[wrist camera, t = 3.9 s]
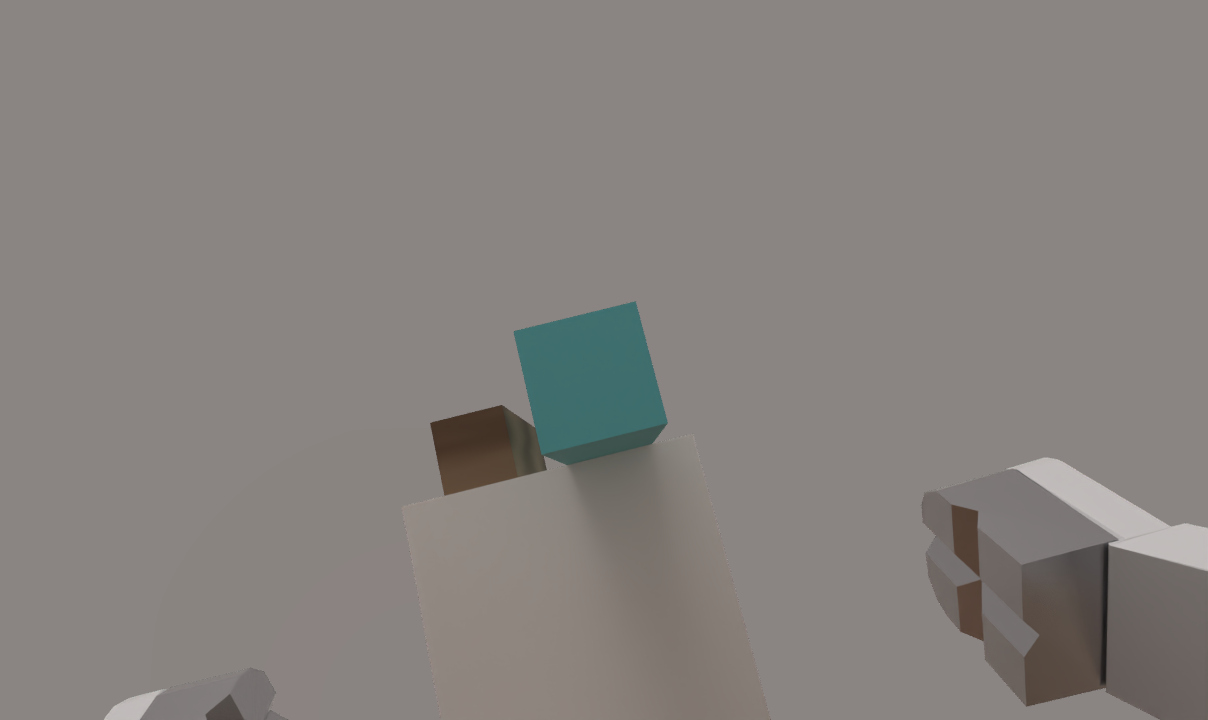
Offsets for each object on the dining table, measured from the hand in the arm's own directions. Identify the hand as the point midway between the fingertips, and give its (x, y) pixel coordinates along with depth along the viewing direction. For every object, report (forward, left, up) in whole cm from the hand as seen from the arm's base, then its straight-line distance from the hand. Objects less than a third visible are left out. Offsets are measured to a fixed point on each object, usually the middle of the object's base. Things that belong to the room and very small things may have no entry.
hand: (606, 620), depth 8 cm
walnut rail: (-23, +9, +3) cm, 25 cm away
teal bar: (-18, +12, +3) cm, 22 cm away
